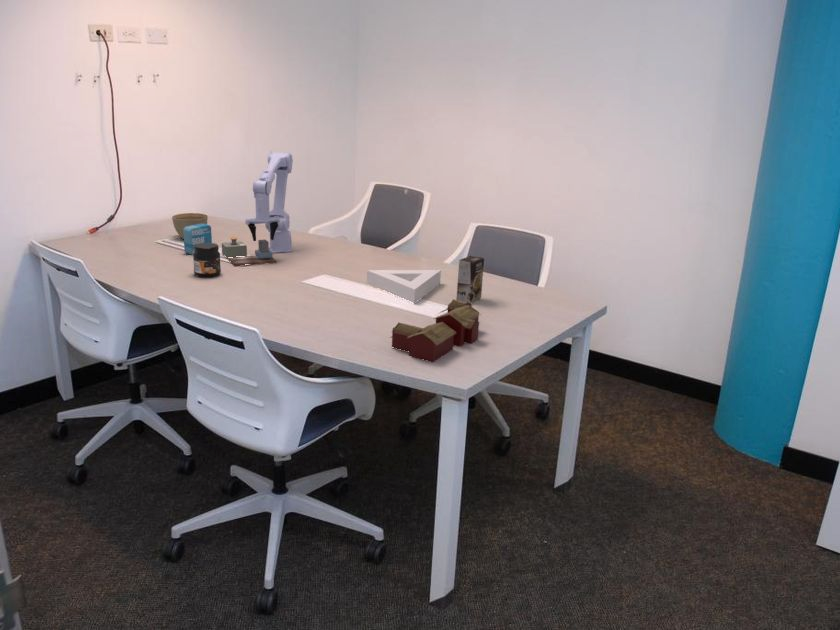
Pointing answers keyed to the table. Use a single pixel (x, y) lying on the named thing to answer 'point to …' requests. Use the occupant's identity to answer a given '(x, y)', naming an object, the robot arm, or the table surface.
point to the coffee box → (470, 279)
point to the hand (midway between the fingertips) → (263, 240)
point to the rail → (250, 260)
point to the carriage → (263, 250)
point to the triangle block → (405, 282)
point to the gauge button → (233, 240)
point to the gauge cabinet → (234, 249)
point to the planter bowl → (188, 221)
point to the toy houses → (439, 333)
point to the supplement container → (206, 260)
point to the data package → (196, 236)
